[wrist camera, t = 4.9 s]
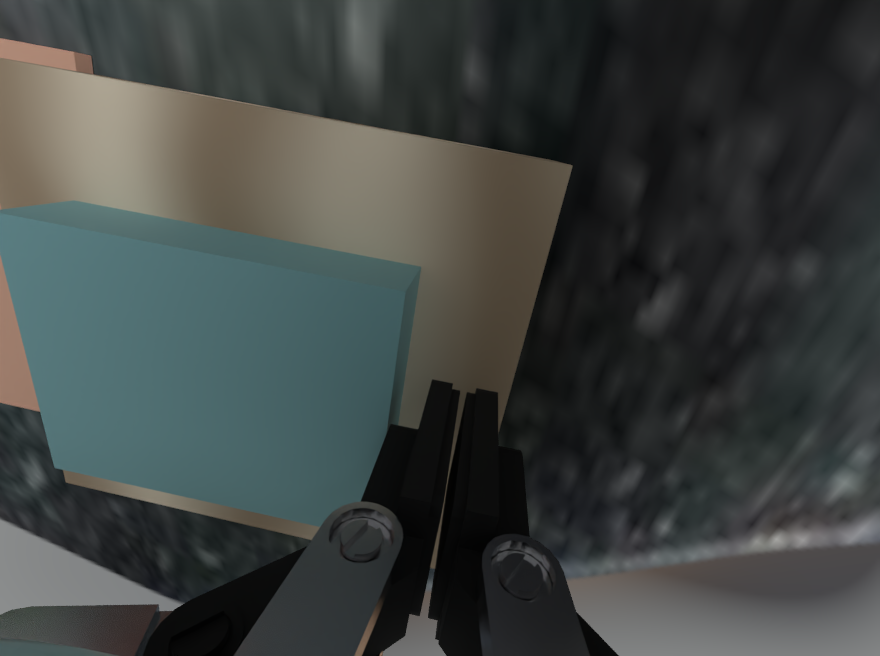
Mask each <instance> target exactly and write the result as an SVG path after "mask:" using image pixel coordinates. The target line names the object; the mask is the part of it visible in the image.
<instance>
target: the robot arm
mask: <svg viewBox="0 0 880 656" xmlns="http://www.w3.org/2000/svg"><path fill="white" fill-rule="evenodd" d="M452 387H453V383H449V382H444V381H439V380H434V379H432V381H431V385H430V389H429V392H428V396H427V399H426V403H425V407H424V410H423V414H422V417H421V421H420V424H419V428H418V429H414V428H409V427H404V426H399V425H394V424H391V425H390V427H389V429H388V431H387V434H386V436H385V439H384V442H383V444H382V447H381V450H380V452H379V455H378V457H377V460H376V463H375V465H374V468H373V470H372V473H371V476H370V478H369V481H368V483H367V486H366V489H365V491H364V494H363V496H362V499H361V502H353V503H350V504H346V505H343V506H341V507H340V508H338V509H336V510H335V511H333V512H332V513H331V514H330V515H329V516H328V517H327V518H326V519H325V521H324V522H323V524H322V525H321V527H320V528H319V530H318V531H317V533H316V534H315V536H314V537H313V538H312V540H311V541H310V543H309V544H308V546H307V547H305V548H303V549H300V550H298V551H296V552H294V553H292V554H290V555H287V556H285V557H283V558H281V559H279V560H277V561H274V562H272V563H270V564H268V565H266V566H263V567H261V568H259V569H257V570H255V571H253V572H250V573H248V574H246V575H244V576H242V577H240V578H237V579H235V580H233V581H231V582H229V583H227V584H224V585H222V586H220V587H218V588H216V589H213V590H211V591H209V592H207V593H205V594H203V595H200V596H198V597H196V598H194V599H192V600H190V601H188V602H186V603H185V604H183V605H181V606H180V607H178V608H176V609H175V610H174V611H159V605H103V606H101V605H97V606H43V607H42V606H39V607H26V608H20V609H15V610H11V611H8V612H6V613H3V614H1V615H0V656H383V651H384V650H385V649H387V648H388V647H390V646H391V645H392V644H394V643H395V642H397V641H398V640H399V639H401V638H403V637H404V636H405V633H406V628H407V623H408V618H409V614H412V615H417V616H420V612H421V607H422V602H423V598H424V593H425V589H426V584H427V579H428V575H429V570H430V566H431V561H432V556H433V552H434V547H435V542H436V538H437V533H438V528H439V524H440V519H441V514H442V509H443V504H444V510H443V517H442V524H441V531H440V538H439V544H438V551H437V558H436V565H435V572H434V579H433V585H432V592H431V599H430V606H429V614H428V618H430V619H434V620H438V622H437V631H436V638H435V639H437V640H439V645H440V647H441V648H442V649H443V651H444V653H445V654H446V655H447V656H618V655H617V654H616V652H614V651H613V650H612V648H610V646H609V645H608V644H607V643H606V642H605V641H604V640H603V639H602V638H601V637H600V636H599V635H598V634H597V633H596V632H595V631H594V630H593V629H592V628H591V627H590V626H589V625H588V623H587V622H586V621H585V620H584V619H583V618H582V617H581V616H580V615H579V614H578V613H577V612H576V610H575V607H574V604H573V600H572V597H571V594H570V591H569V588H568V585H567V581H566V578H565V575H564V572H563V570H562V568H561V566H560V564H559V561H558V560H557V559H556V557H555V556H554V555H553V554H552V553H551V551H550V550H549V549H547V548H546V547H545V546H544V545H542V544H541V543H540V542H538V541H536V540H534V539H532V538H530V537H529V526H528V514H527V503H526V491H525V479H524V467H523V456H522V452H521V451H520V450H515V449H511V448H506V447H501V446H498V392H494V391H489V390H484V389H479V388H476V391H475V394H474V393H469V392H467V394H466V398H465V403H464V408H463V412H462V417H461V422H460V427H459V431H458V436H457V441H456V445H455V450H454V455H453V459H452V464H451V469H450V473H449V478H448V471H449V465H450V458H451V451H452V444H453V438H454V431H455V424H456V417H457V411H458V404H459V397H460V390H455V389H452ZM447 478H448V484H447ZM446 485H447V490H446ZM445 492H446V496H445ZM444 498H445V503H444Z"/></svg>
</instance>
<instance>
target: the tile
mask: <svg viewBox="0 0 880 656" xmlns="http://www.w3.org/2000/svg"><path fill="white" fill-rule="evenodd" d="M0 255H1V259H2V263H3V267H4V271H5V275H6V279H7V283H8V287H9V291H10V295H11V299H12V303H13V307H14V311H15V314H16V318H17V322H18V326H19V330H20V334H21V338H22V342H23V346H24V350H25V354H26V358H27V362H28V366H29V370H30V373H31V377H32V381H33V385H34V389H35V393H36V397H37V401H38V405H39V409H40V413H41V417H42V421H43V425H44V428H45V432H46V436H47V440H48V444H49V448H50V452H51V456H52V460H53V464H54V468H57V469H62V470H66V471H71V472H75V473H80V474H84V475H89V476H93V477H98V478H102V479H107V480H111V481H116V482H120V483H125V484H129V485H134V486H138V487H143V488H147V489H152V490H156V491H161V492H165V493H170V494H174V495H179V496H183V497H187V498H192V499H196V500H201V501H205V502H210V503H214V504H219V505H223V506H228V507H232V508H237V509H241V510H246V511H250V512H255V513H259V514H264V515H268V516H273V517H277V518H282V519H286V520H291V521H295V522H300V523H304V524H309V525H313V526H318V527H321V525H322V524H323V522H324V521H325V519H326V518H327V517H328V516H329V515H330V514H331V513H332V512H333V511H335V510H336V509H338V508H340V507H341V506H343V505H346V504H350V503H353V502H361V499H362V496H363V494H364V491H365V489H366V486H367V483H368V481H369V478H370V476H371V473H372V470H373V468H374V465H375V463H376V460H377V457H378V455H379V452H380V450H381V447H382V444H383V442H384V439H385V436H386V434H387V431H388V429H389V427H390V425H391V424H394V425H398V422H399V415H400V409H401V402H402V395H403V388H404V381H405V375H406V368H407V361H408V354H409V347H410V341H411V334H412V327H413V320H414V313H415V307H416V300H417V293H418V286H419V279H420V273H421V267H420V266H415V265H410V264H404V263H399V262H394V261H389V260H383V259H378V258H373V257H368V256H363V255H357V254H352V253H347V252H342V251H336V250H331V249H326V248H321V247H315V246H310V245H305V244H300V243H295V242H289V241H284V240H279V239H274V238H268V237H263V236H258V235H253V234H247V233H242V232H237V231H232V230H227V229H221V228H216V227H211V226H206V225H200V224H195V223H190V222H185V221H179V220H174V219H169V218H164V217H159V216H153V215H148V214H143V213H138V212H132V211H127V210H122V209H117V208H111V207H106V206H101V205H96V204H91V203H85V202H80V201H75V200H73V201H65V202H57V203H49V204H41V205H33V206H25V207H17V208H9V209H1V210H0Z"/></svg>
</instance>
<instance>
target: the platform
mask: <svg viewBox="0 0 880 656" xmlns="http://www.w3.org/2000/svg"><path fill="white" fill-rule="evenodd" d="M572 167H573V165H569V164H565V163H561V162H557V161H553V160H549V159H543V158H538V157H533V156H527V155H522V154H517V153H511V152H506V151H501V150H495V149H490V148H485V147H479V146H474V145H469V144H463V143H458V142H453V141H447V140H442V139H437V138H431V137H426V136H421V135H415V134H410V133H405V132H399V131H394V130H389V129H383V128H378V127H373V126H367V125H362V124H357V123H351V122H346V121H341V120H335V119H330V118H325V117H319V116H314V115H309V114H303V113H298V112H293V111H287V110H282V109H277V108H271V107H266V106H261V105H255V104H250V103H245V102H239V101H234V100H229V99H223V98H218V97H213V96H207V95H202V94H197V93H191V92H186V91H181V90H175V89H170V88H165V87H159V86H154V85H149V84H143V83H138V82H133V81H127V80H122V79H117V78H111V77H106V76H100V75H95V74H89V73H83V72H78V71H72V70H67V69H61V68H55V67H50V66H44V65H38V64H33V63H27V62H21V61H16V60H10V59H5V58H0V205H1V209H9V208H17V207H25V206H33V205H41V204H49V203H57V202H65V201H73V200H75V201H80V202H85V203H91V204H96V205H101V206H106V207H111V208H117V209H122V210H127V211H132V212H138V213H143V214H148V215H153V216H159V217H164V218H169V219H174V220H179V221H185V222H190V223H195V224H200V225H206V226H211V227H216V228H221V229H227V230H232V231H237V232H242V233H247V234H253V235H258V236H263V237H268V238H274V239H279V240H284V241H289V242H295V243H300V244H305V245H310V246H315V247H321V248H326V249H331V250H336V251H342V252H347V253H352V254H357V255H363V256H368V257H373V258H378V259H383V260H389V261H394V262H399V263H404V264H410V265H415V266H420V267H421V273H420V279H419V286H418V293H417V300H416V307H415V313H414V320H413V327H412V334H411V341H410V347H409V354H408V361H407V368H406V375H405V381H404V388H403V395H402V402H401V409H400V415H399V422H398V425H399V426H404V427H409V428H414V429H418V428H419V424H420V421H421V417H422V414H423V410H424V407H425V403H426V399H427V396H428V392H429V389H430V385H431V381H432V379H434V380H439V381H444V382H449V383H453V387H452V389H455V390H460V397H459V404H458V411H457V417H456V424H455V431H454V438H453V444H452V451H451V458H450V465H449V471H448V478H449V473H450V469H451V464H452V459H453V455H454V450H455V445H456V441H457V436H458V431H459V427H460V422H461V417H462V412H463V408H464V403H465V398H466V394H467V392H469V393H474V394H475V391H476V388H479V389H484V390H489V391H494V392H498V433H499V430H500V426H501V422H502V419H503V415H504V412H505V408H506V404H507V401H508V397H509V394H510V390H511V386H512V383H513V379H514V376H515V372H516V368H517V365H518V361H519V358H520V354H521V350H522V347H523V343H524V340H525V336H526V332H527V329H528V325H529V322H530V318H531V314H532V311H533V307H534V303H535V300H536V296H537V293H538V289H539V285H540V282H541V278H542V275H543V271H544V267H545V264H546V260H547V257H548V253H549V249H550V246H551V242H552V239H553V235H554V231H555V228H556V224H557V221H558V217H559V213H560V210H561V206H562V203H563V199H564V195H565V192H566V188H567V185H568V181H569V177H570V174H571V170H572ZM63 472H64V476H65V481H66V483H70V484H74V485H79V486H83V487H87V488H91V489H96V490H100V491H104V492H109V493H113V494H117V495H121V496H126V497H130V498H134V499H138V500H143V501H147V502H151V503H156V504H160V505H164V506H168V507H173V508H177V509H181V510H185V511H190V512H194V513H198V514H203V515H207V516H211V517H215V518H220V519H224V520H228V521H232V522H237V523H241V524H245V525H250V526H254V527H258V528H262V529H267V530H271V531H275V532H279V533H284V534H288V535H292V536H297V537H301V538H305V539H309V540H312V538H313V537H314V536H315V534H316V533H317V531H318V530H319V528H320V527H318V526H313V525H309V524H304V523H300V522H295V521H291V520H286V519H282V518H277V517H273V516H268V515H264V514H259V513H255V512H250V511H246V510H241V509H237V508H232V507H228V506H223V505H219V504H214V503H210V502H205V501H201V500H196V499H192V498H187V497H183V496H179V495H174V494H170V493H165V492H161V491H156V490H152V489H147V488H143V487H138V486H134V485H129V484H125V483H120V482H116V481H111V480H107V479H102V478H98V477H93V476H89V475H84V474H80V473H75V472H71V471H66V470H63ZM448 478H447V484H448ZM446 490H447V485H446ZM445 496H446V492H445ZM444 503H445V498H444ZM443 510H444V504H443V509H442V514H441V519H440V524H439V528H438V533H437V538H436V542H435V547H434V552H433V556H432V561H431V566H430V568H433V569H435V565H436V558H437V551H438V544H439V538H440V531H441V524H442V517H443Z"/></svg>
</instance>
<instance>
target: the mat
mask: <svg viewBox="0 0 880 656" xmlns="http://www.w3.org/2000/svg"><path fill="white" fill-rule="evenodd" d="M0 58H5V59H10V60H16V61H21V62H27V63H33V64H38V65H44V66H50V67H55V68H61V69H67V70H72V71H78V72H83V73H89V74H93V66H92V59H91V56H90V55H85V54H81V53H76V52H72V51H66V50H61V49H55V48H50V47H45V46H39V45H34V44H28V43H23V42H18V41H12V40H7V39H1V38H0ZM0 210H1V205H0ZM0 403H4V404H9V405H13V406H17V407H22V408H26V409H31V410H35V411H39V412H40V409H39V405H38V401H37V397H36V393H35V389H34V385H33V381H32V377H31V373H30V370H29V366H28V362H27V358H26V354H25V350H24V346H23V342H22V338H21V334H20V330H19V326H18V322H17V318H16V314H15V311H14V307H13V303H12V299H11V295H10V291H9V287H8V283H7V279H6V275H5V271H4V267H3V263H2V259H1V255H0Z"/></svg>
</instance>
